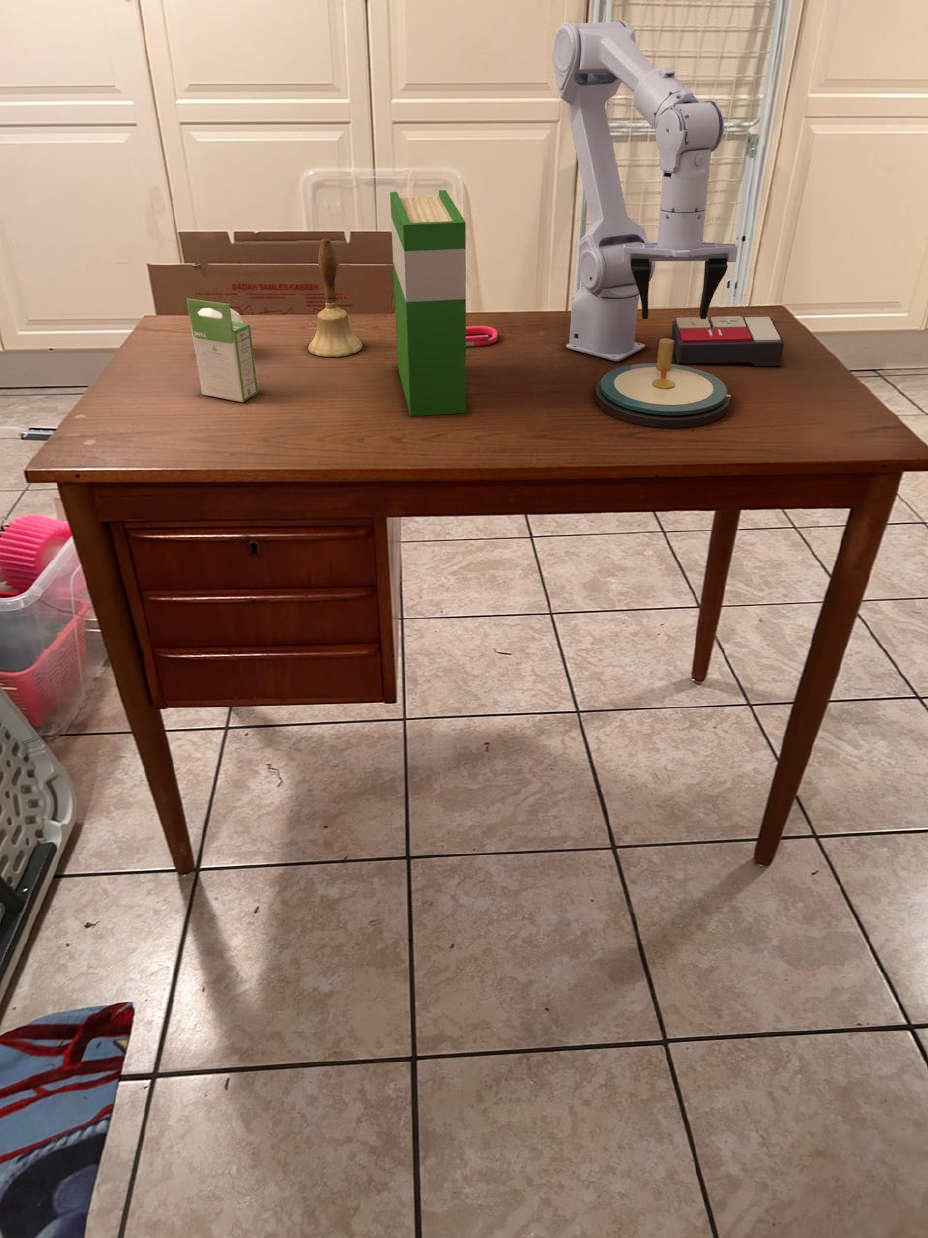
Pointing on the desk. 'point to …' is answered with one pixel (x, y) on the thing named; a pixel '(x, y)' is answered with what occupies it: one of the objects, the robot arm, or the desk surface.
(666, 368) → the turntable with peg
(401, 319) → the hardback book
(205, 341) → the ink box
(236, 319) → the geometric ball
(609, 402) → the stand
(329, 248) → the hand bell
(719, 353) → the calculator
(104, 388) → the desk surface
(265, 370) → the desk surface
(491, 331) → the fitness band
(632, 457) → the desk surface
